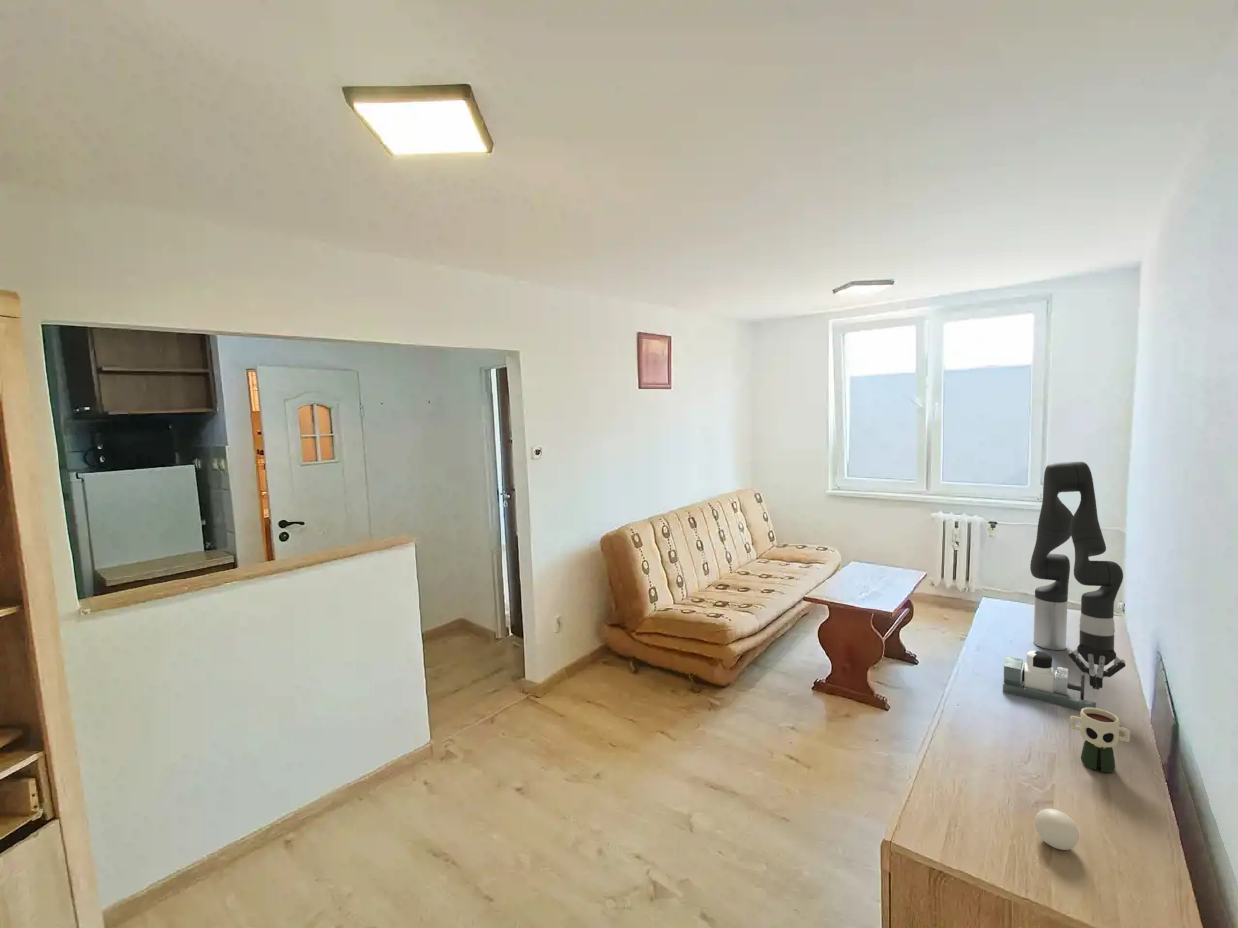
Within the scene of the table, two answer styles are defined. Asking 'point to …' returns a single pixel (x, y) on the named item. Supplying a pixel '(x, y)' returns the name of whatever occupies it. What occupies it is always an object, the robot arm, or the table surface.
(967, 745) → the table surface
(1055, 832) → the white egg
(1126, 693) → the table surface
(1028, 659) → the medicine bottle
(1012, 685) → the vise bed
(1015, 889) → the table surface
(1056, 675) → the sliding jaw
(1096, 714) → the character mug
